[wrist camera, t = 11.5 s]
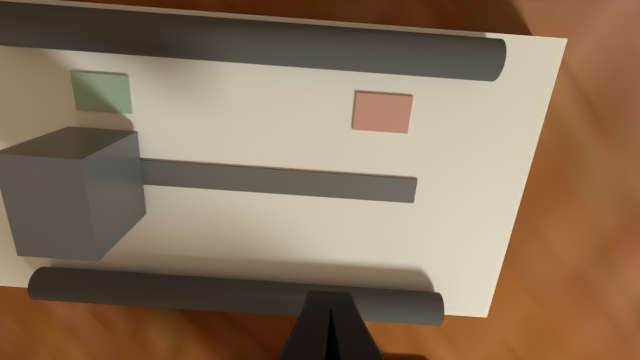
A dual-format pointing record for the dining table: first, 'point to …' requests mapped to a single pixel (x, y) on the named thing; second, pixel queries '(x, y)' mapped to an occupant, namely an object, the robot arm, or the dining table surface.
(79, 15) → the dark grey guard rails
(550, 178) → the dining table surface
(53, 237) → the block
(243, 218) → the panel
